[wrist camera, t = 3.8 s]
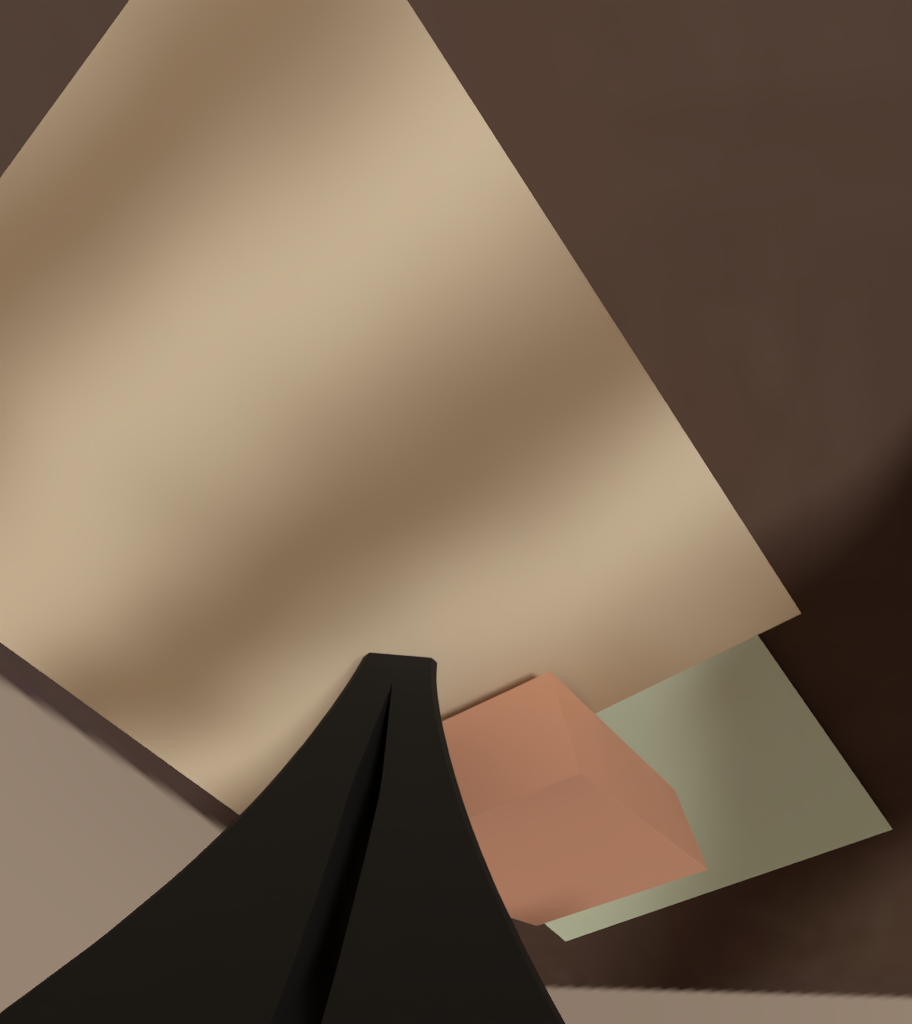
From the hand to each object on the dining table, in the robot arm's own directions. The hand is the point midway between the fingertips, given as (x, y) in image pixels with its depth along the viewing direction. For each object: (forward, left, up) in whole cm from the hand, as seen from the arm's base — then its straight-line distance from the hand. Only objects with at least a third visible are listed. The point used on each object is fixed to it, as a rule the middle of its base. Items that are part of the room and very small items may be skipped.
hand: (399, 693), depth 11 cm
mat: (-8, +5, -4) cm, 10 cm away
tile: (-4, +3, -2) cm, 5 cm away
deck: (+3, -2, -4) cm, 5 cm away
